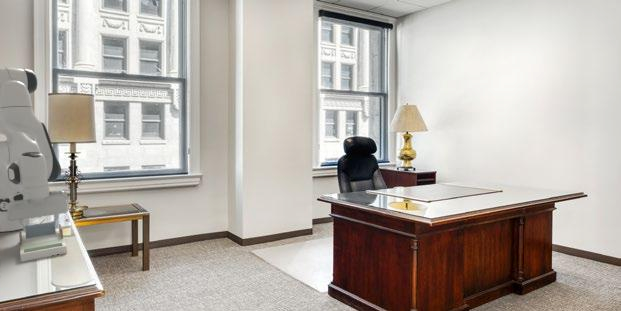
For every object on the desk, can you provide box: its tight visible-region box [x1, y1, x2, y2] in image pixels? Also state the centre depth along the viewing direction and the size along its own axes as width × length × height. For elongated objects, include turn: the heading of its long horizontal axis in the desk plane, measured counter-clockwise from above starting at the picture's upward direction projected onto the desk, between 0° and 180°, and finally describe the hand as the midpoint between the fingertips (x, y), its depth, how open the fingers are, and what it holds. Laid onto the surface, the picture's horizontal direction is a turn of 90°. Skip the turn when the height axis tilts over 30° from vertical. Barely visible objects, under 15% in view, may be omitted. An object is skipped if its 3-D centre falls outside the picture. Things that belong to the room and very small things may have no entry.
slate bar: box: [24, 222, 56, 239], centre depth 160 cm, size 4×10×4 cm, turn 125°
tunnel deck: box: [18, 223, 68, 262], centre depth 153 cm, size 33×13×6 cm, turn 35°
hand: (40, 227), depth 165 cm, fingers open, 8 cm apart
